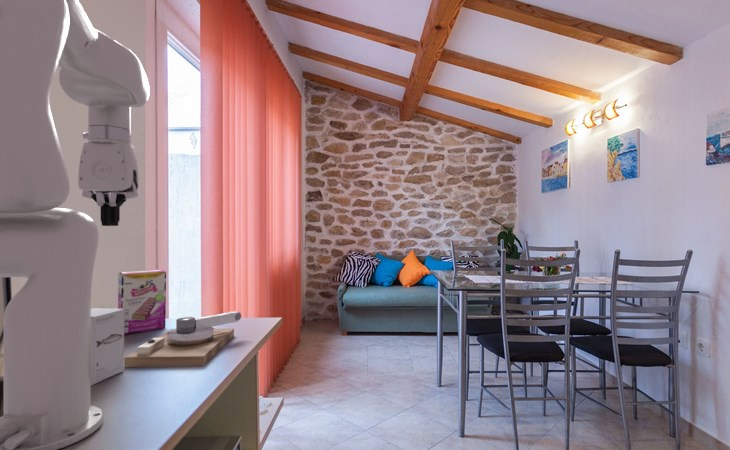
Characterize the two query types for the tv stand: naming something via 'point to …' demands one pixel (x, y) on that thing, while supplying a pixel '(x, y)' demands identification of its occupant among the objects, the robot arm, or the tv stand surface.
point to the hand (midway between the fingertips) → (110, 225)
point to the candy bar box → (142, 300)
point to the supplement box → (106, 343)
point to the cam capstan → (198, 328)
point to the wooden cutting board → (177, 352)
